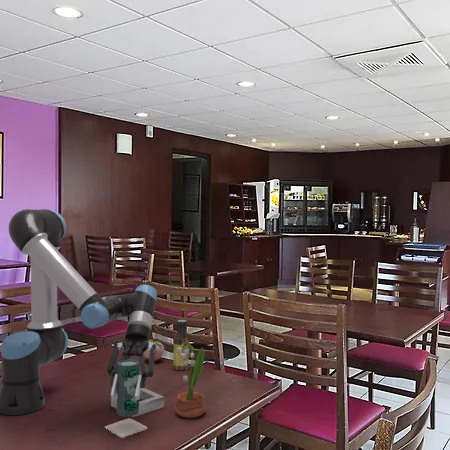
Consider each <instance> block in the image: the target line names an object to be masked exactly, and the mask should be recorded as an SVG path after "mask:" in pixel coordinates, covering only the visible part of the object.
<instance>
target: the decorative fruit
mask: <svg viewBox="0 0 450 450" xmlns="http://www.w3.org/2000/svg"><path fill="white" fill-rule="evenodd" d="M149 344H151V345H153V344H156V347H157V351H156V353H155V358H154V362H156V361H158V360H160V359H161V358H162V357H163V355H164V353H165V347H164V345H163V343H162V342H160V341H156V340H155V338H152V339H151V340H149ZM149 354H150V351H149V348H148V349H147V350H146V351H145V352H144V353H143V356H144V358H146V359H147V360H149Z"/></svg>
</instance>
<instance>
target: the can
mask: <svg viewBox="0 0 450 450" xmlns="http://www.w3.org/2000/svg"><path fill="white" fill-rule="evenodd" d="M116 365H117V392H116V394H117V409H116V414H117V416H120V417H124V418H126V417H128V418H130V417H131V416H133V415H136V414H138V413H139V402H140V400H136V397H135V393H136V388H137V382H138V377H139V375H140V361H139V360H137V359H128V360H123V361H120V362H116Z"/></svg>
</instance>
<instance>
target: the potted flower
mask: <svg viewBox="0 0 450 450" xmlns="http://www.w3.org/2000/svg"><path fill="white" fill-rule="evenodd" d="M188 338H189V337H188ZM188 338H186V339H187V340H188ZM186 339H184V340H186ZM184 340H183V341H184ZM187 342H188V344H189V345H188V344H187V346H186V347H185V348H186V349H185V348H184V345H185V343H187ZM182 345H183V347H182V348H180V347H181V346H182ZM182 345H181V346H180V347H179V348H178V350H177V351H179V352H181V350H182V354H181V359H182V360H184V358H185V359H187V358H186V355H187V354H189V356H187V357H189V358H190V364H189V361H188V362H187V361H185V362H184V365H185V366H186V365H187V366H188V367H187V369H186V370H185V373H184V375H183V376H182V381H183V382H188V391H184V392H181V393H179V394H177V396H176V398H177V399H176V403H175V406H174V411H175V413H176V415H178V416H180V417H183V418H187V419H194V418H198V417H200V416H202V415H203V414H204V413H205V412H206V410H207V407H206V402H205V401H204V399H205V395H204V394H203V393H201V392H197V391H194V389H195V387H196V385H197V382H198V380H199V379H200V377H201V374H202V370H203V368H204V363H205V362H204V360H205V350H204V347H200V349H199V350H198V352H197V354H196V356H195V353H194V351H193V350H194V347H193V345H191V342H190V340H189V341H185V342H184V344H182ZM187 347H189V349H187ZM183 348H184V349H185V350H184V353H183ZM189 368H190V370H189V376H188V375H186V374H187V371H188V369H189Z"/></svg>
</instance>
